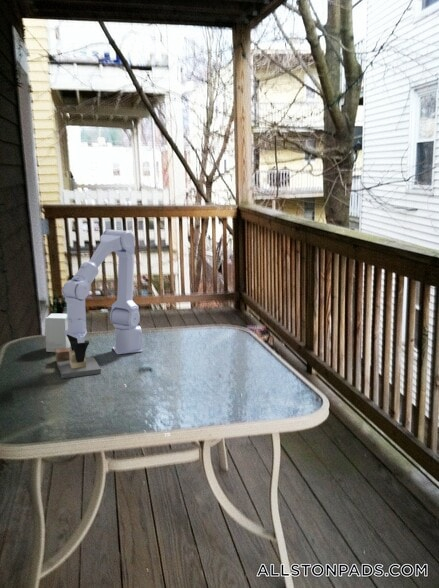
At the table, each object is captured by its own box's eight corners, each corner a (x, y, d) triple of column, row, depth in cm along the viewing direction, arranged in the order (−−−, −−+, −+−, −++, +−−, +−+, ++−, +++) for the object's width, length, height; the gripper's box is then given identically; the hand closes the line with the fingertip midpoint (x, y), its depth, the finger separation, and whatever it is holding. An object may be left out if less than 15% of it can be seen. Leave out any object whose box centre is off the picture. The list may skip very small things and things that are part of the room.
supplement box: (66, 352, 189) (64, 318, 186) (45, 352, 189) (43, 317, 186) (72, 346, 196) (71, 313, 194) (52, 345, 196) (50, 312, 194)
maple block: (83, 362, 175) (83, 349, 174) (86, 366, 171) (85, 353, 170) (69, 363, 173) (69, 350, 172) (71, 368, 169) (71, 355, 168)
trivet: (93, 361, 180) (93, 357, 180) (100, 373, 170) (100, 368, 169) (57, 365, 175) (57, 361, 175) (62, 378, 165) (62, 373, 164)
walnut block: (69, 359, 182) (69, 347, 181) (71, 363, 178) (71, 351, 177) (56, 361, 180) (55, 348, 179) (57, 365, 176) (57, 352, 175)
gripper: (60, 313, 174) (62, 352, 177) (67, 324, 161) (68, 366, 164) (82, 311, 176) (83, 350, 179) (90, 322, 164) (92, 364, 166)
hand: (78, 358), depth 172 cm, fingers open, 7 cm apart
